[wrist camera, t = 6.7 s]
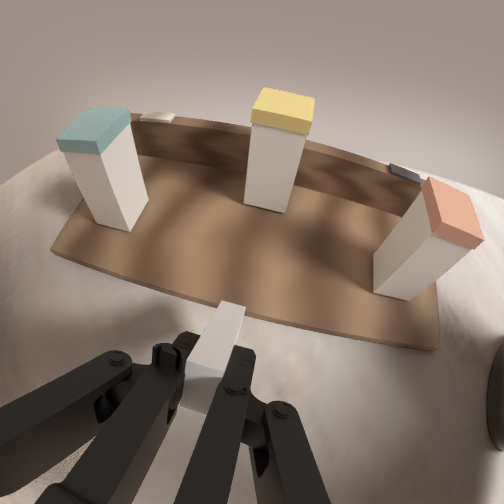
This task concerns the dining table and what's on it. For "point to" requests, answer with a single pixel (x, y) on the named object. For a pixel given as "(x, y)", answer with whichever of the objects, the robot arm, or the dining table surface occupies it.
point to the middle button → (276, 147)
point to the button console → (260, 234)
